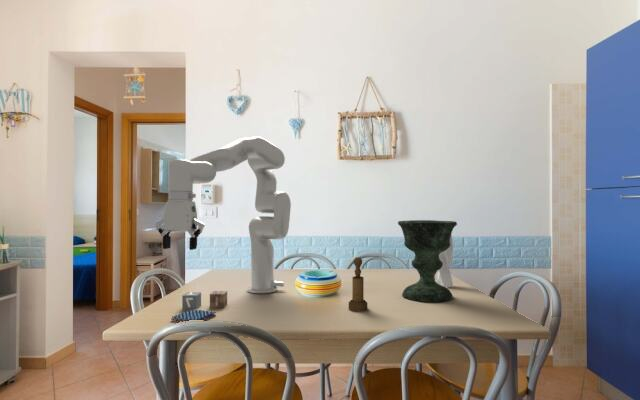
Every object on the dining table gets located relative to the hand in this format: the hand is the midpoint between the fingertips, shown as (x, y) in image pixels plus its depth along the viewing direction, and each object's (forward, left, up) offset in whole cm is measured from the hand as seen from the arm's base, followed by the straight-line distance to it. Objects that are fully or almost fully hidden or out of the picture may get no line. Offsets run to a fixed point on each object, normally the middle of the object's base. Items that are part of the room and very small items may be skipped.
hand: (179, 249), depth 125 cm
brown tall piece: (-60, -8, -22) cm, 64 cm away
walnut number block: (-10, -12, -22) cm, 27 cm away
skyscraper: (-102, -45, -23) cm, 113 cm away
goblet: (-89, -25, -22) cm, 95 cm away
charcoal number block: (-1, -10, -22) cm, 24 cm away
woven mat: (-6, +3, -23) cm, 24 cm away
